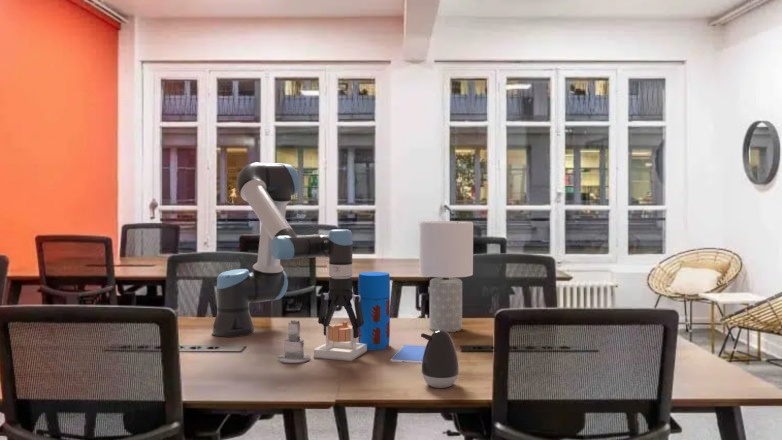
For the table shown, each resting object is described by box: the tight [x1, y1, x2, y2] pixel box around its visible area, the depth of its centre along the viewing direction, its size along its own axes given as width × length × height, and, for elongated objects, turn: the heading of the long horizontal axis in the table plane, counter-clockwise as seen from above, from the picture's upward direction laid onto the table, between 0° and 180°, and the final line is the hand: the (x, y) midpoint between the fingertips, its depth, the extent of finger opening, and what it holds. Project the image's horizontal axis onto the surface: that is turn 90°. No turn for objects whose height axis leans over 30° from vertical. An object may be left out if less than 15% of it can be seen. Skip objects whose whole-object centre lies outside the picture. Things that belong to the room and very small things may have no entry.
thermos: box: [357, 271, 391, 351], centre depth 209 cm, size 11×11×25 cm
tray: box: [313, 341, 368, 362], centre depth 198 cm, size 13×13×2 cm
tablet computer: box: [389, 344, 426, 365], centre depth 198 cm, size 19×13×1 cm, turn 166°
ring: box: [328, 320, 352, 342], centre depth 198 cm, size 8×8×5 cm
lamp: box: [418, 220, 474, 333], centre depth 236 cm, size 21×21×42 cm
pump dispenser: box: [420, 330, 460, 389], centre depth 166 cm, size 10×10×15 cm
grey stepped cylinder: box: [277, 319, 311, 365], centre depth 192 cm, size 10×10×12 cm
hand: (340, 346), depth 198 cm, fingers closed on ring, 8 cm apart
